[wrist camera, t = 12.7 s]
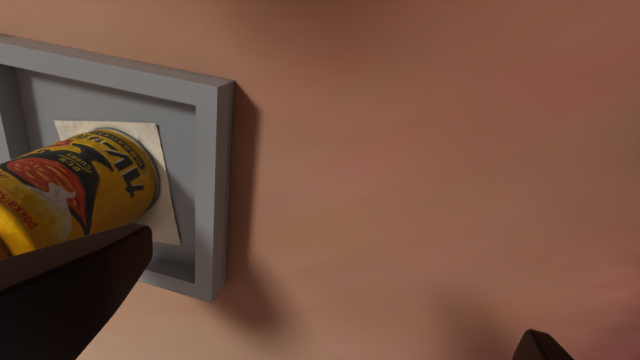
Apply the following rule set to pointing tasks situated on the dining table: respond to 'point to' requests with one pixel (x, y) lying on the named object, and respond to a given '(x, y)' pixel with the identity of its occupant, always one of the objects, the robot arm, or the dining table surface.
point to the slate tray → (143, 107)
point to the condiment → (86, 187)
